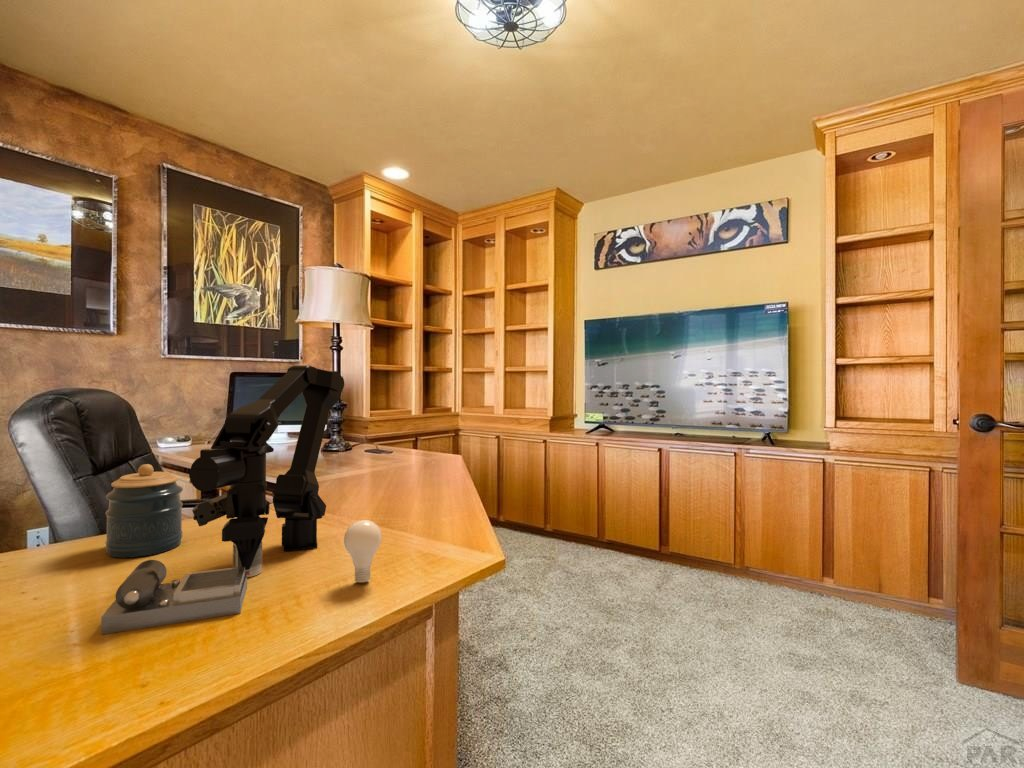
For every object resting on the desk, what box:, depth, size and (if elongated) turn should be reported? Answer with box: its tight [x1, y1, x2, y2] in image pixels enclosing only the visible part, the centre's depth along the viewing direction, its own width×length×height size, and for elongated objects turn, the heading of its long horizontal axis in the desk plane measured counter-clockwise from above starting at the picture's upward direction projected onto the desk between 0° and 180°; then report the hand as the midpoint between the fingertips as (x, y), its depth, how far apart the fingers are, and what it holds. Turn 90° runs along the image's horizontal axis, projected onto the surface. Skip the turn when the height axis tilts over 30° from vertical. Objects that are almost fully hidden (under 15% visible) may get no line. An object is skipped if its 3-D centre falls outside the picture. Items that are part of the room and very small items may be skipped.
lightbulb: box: [343, 519, 382, 584], centre depth 87 cm, size 6×6×11 cm
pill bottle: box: [232, 540, 263, 578], centre depth 90 cm, size 5×5×8 cm
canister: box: [104, 463, 184, 559], centre depth 103 cm, size 13×13×18 cm
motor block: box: [100, 559, 248, 636], centre depth 76 cm, size 17×11×7 cm, turn 113°
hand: (247, 564), depth 90 cm, fingers closed on pill bottle, 5 cm apart
